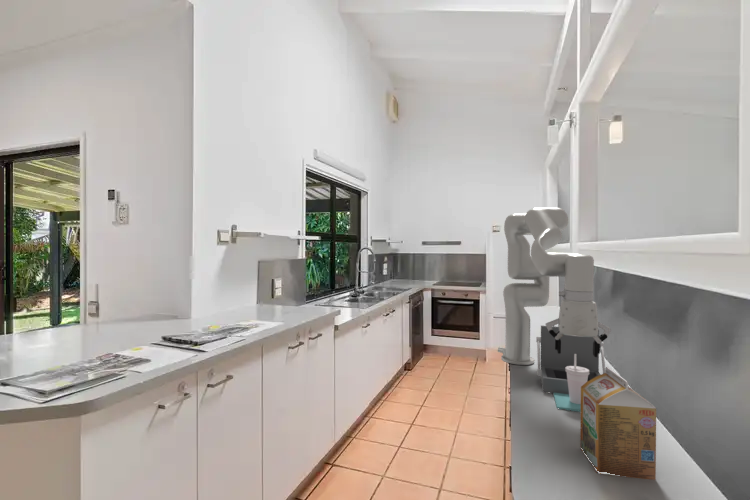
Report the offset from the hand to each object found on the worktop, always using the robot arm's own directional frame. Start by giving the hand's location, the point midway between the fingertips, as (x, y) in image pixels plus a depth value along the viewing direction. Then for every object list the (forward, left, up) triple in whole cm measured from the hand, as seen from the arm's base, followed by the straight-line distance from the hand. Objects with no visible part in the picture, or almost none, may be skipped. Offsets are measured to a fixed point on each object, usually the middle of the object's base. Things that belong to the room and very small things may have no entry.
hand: (576, 354), depth 118 cm
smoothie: (0, 0, -14) cm, 14 cm away
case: (-7, +12, -15) cm, 20 cm away
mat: (+1, 0, -15) cm, 14 cm away
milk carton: (+20, -28, -15) cm, 37 cm away
